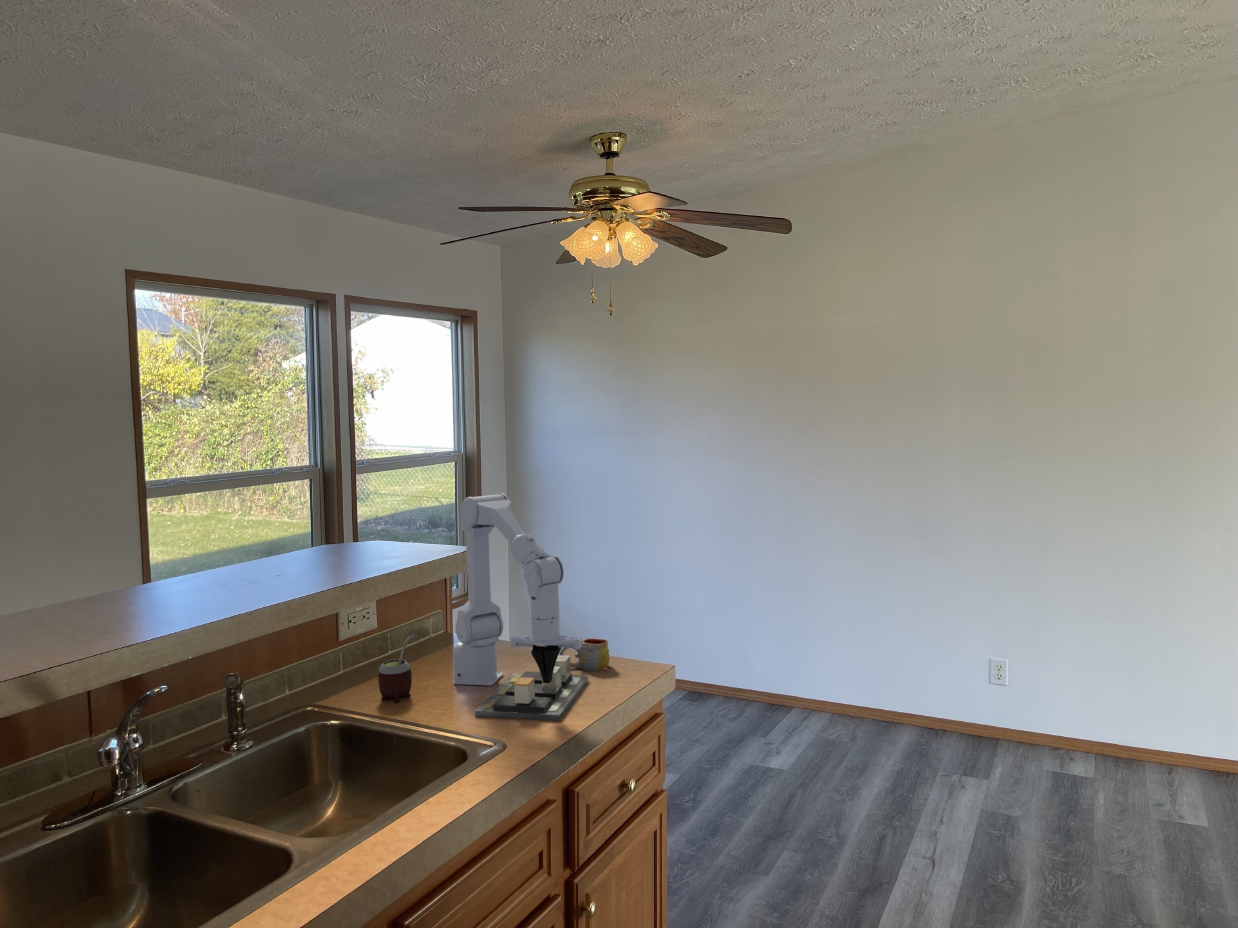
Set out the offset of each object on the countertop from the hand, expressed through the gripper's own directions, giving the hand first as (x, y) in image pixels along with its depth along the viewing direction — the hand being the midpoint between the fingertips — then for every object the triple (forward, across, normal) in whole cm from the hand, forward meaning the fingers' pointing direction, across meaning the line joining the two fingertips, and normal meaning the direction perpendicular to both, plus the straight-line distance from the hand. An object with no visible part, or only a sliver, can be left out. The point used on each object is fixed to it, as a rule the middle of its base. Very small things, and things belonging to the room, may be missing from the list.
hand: (547, 681), depth 170 cm
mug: (+7, 0, +30) cm, 31 cm away
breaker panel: (+6, -6, +8) cm, 12 cm away
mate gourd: (+7, -36, +4) cm, 36 cm away
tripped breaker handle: (+4, -5, 0) cm, 7 cm away
